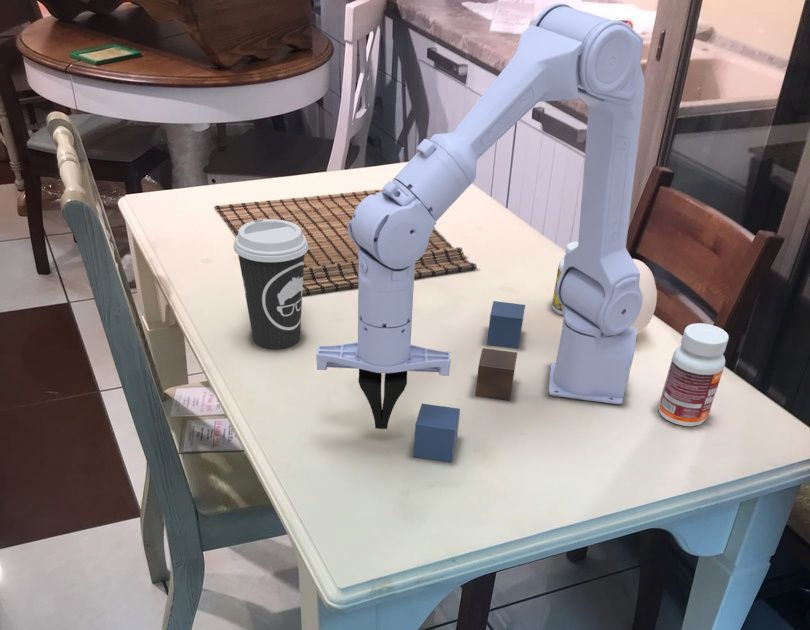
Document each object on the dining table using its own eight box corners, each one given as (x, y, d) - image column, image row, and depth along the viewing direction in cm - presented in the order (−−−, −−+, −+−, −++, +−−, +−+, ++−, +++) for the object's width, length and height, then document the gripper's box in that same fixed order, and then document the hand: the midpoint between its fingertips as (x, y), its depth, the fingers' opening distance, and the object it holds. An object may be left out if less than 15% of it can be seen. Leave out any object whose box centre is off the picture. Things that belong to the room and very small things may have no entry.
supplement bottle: (546, 302, 128) (557, 239, 122) (579, 301, 129) (592, 238, 123) (557, 318, 124) (569, 254, 118) (592, 317, 125) (605, 253, 119)
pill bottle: (707, 431, 103) (735, 349, 96) (657, 423, 104) (681, 341, 97) (705, 405, 108) (732, 325, 100) (657, 398, 109) (680, 317, 101)
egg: (651, 353, 118) (672, 275, 110) (590, 349, 118) (607, 271, 110) (640, 324, 124) (659, 249, 117) (582, 321, 124) (597, 245, 116)
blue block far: (520, 333, 120) (525, 304, 117) (518, 348, 117) (523, 318, 114) (489, 329, 121) (493, 300, 118) (486, 344, 117) (490, 314, 114)
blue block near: (456, 440, 99) (460, 408, 96) (451, 462, 96) (455, 429, 93) (419, 435, 100) (421, 403, 97) (413, 457, 96) (415, 424, 93)
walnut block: (512, 382, 110) (517, 352, 107) (509, 400, 106) (514, 369, 103) (478, 378, 110) (482, 347, 107) (474, 396, 107) (478, 365, 104)
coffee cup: (308, 320, 120) (304, 216, 110) (314, 353, 113) (311, 244, 103) (240, 323, 119) (231, 217, 109) (242, 356, 112) (232, 246, 102)
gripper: (452, 301, 91) (442, 408, 100) (319, 295, 91) (321, 402, 100) (454, 332, 86) (444, 441, 95) (313, 325, 85) (316, 436, 94)
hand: (381, 424), depth 97 cm, fingers closed
